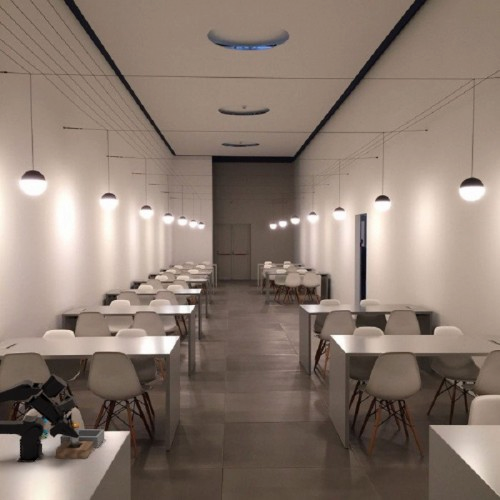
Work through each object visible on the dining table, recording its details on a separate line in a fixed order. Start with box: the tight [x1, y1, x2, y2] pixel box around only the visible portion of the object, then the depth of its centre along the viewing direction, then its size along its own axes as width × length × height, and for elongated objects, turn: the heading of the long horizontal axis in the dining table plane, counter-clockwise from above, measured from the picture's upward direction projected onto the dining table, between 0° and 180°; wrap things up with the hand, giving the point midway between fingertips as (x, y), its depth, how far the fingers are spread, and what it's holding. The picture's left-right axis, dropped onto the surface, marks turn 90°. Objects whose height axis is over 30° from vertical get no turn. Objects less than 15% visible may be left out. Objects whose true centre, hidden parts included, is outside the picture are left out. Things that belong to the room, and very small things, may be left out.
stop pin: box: [70, 421, 80, 448], centre depth 188 cm, size 3×3×11 cm
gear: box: [40, 415, 49, 438], centre depth 206 cm, size 11×6×10 cm
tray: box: [59, 428, 105, 449], centre depth 197 cm, size 14×8×4 cm, turn 88°
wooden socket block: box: [54, 441, 95, 459], centre depth 188 cm, size 11×8×3 cm
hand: (78, 435), depth 188 cm, fingers closed on stop pin, 3 cm apart
